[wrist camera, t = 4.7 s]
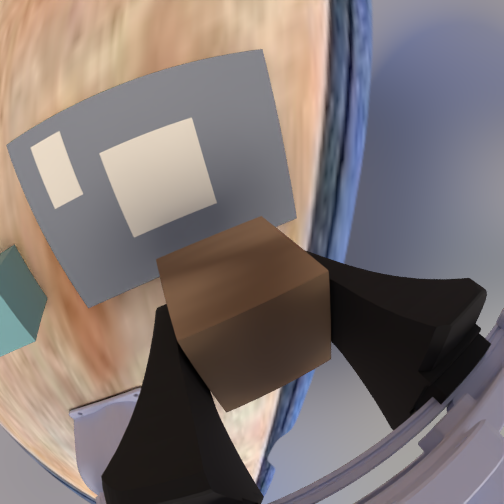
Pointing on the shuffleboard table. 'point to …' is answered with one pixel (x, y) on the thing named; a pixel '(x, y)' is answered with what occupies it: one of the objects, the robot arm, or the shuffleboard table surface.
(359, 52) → the shuffleboard table surface
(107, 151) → the board
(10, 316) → the teal block
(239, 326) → the walnut block
